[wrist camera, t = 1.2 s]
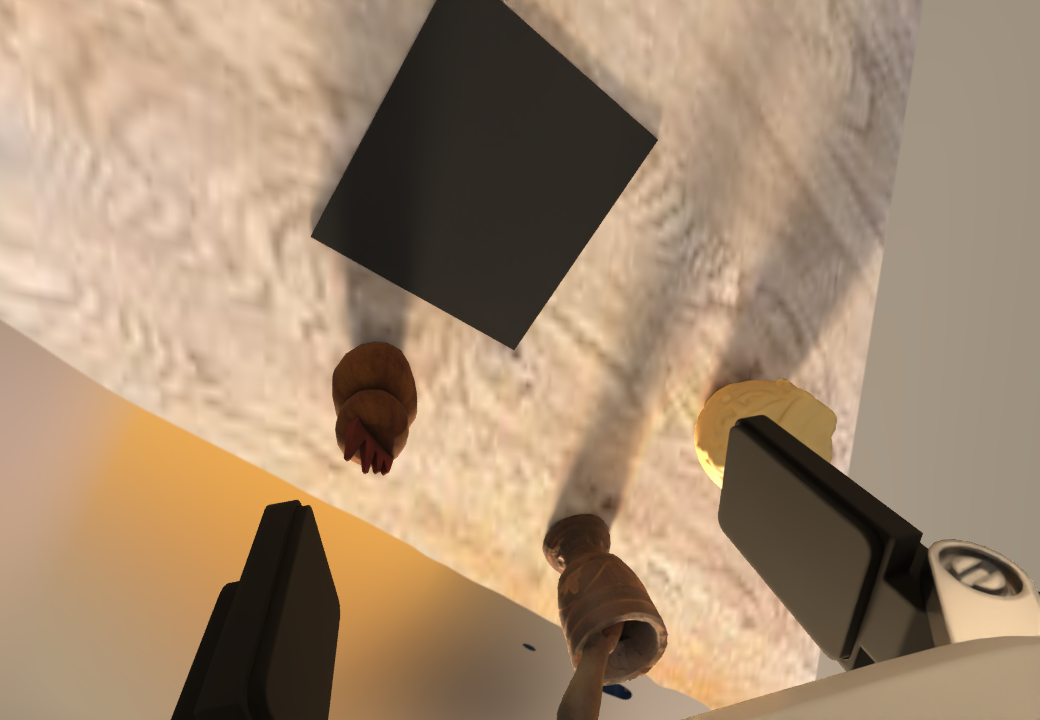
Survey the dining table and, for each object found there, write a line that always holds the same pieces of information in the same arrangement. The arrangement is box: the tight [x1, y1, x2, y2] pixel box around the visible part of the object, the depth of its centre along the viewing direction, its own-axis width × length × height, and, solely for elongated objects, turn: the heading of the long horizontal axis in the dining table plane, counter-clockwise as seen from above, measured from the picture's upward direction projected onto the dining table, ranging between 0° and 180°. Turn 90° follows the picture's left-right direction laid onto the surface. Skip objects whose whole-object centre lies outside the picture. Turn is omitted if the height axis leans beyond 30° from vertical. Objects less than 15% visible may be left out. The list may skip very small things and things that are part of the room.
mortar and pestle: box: [543, 515, 668, 720], centre depth 45 cm, size 12×9×20 cm
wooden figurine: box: [332, 342, 417, 476], centre depth 35 cm, size 7×6×15 cm
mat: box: [311, 0, 658, 350], centre depth 37 cm, size 20×18×1 cm
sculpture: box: [694, 379, 837, 489], centre depth 47 cm, size 11×12×11 cm
